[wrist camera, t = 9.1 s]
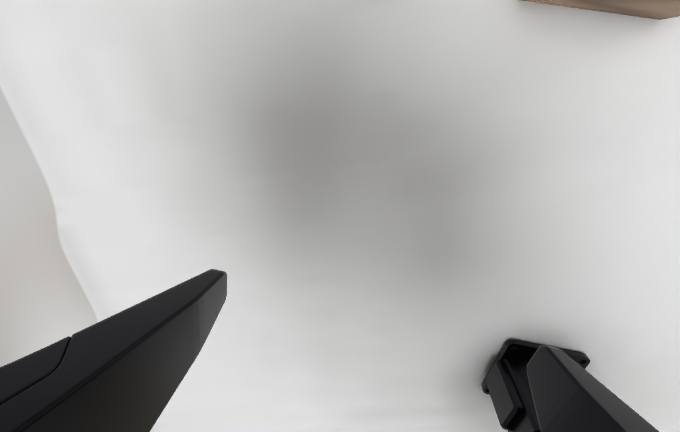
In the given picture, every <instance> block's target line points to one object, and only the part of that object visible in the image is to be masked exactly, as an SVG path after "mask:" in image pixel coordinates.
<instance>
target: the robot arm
mask: <svg viewBox="0 0 680 432" xmlns="http://www.w3.org/2000/svg"><path fill="white" fill-rule="evenodd" d="M226 296H227V274H226V272H224V271H220V270H216V269H211V270H208V271H206V272H204V273H202V274H200V275H198V276H196V277H193V278H191V279H189V280H187V281H185V282H183V283H181V284H179V285H177V286H174V287H172V288H170V289H168V290H166V291H164V292H162V293H160V294H157V295H155V296H153V297H151V298H149V299H147V300H145V301H143V302H141V303H138V304H136V305H134V306H132V307H130V308H128V309H126V310H124V311H122V312H119V313H117V314H115V315H113V316H111V317H109V318H107V319H105V320H102V321H100V322H98V323H96V324H94V325H92V326H90V327H88V328H86V329H83V330H81V331H79V332H77V333H75V334H73V335H72V337H66V338H64V339H62V340H60V341H58V342H56V343H54V344H51V345H50V346H47V347H45V348H43V349H41V350H38V351H36V352H34V353H32V354H29V355H27V356H25V357H23V358H21V359H18V360H16V361H14V362H12V363H10V364H7V365H5V366H2V367H0V432H150V430H151V429H152V427H153V426H154V424H155V422H156V421H157V419H158V418H159V416H160V414H161V413H162V411H163V410H164V408H165V407H166V405H167V403H168V402H169V400H170V399H171V397H172V395H173V394H174V392H175V391H176V389H177V387H178V386H179V384H180V383H181V381H182V380H183V378H184V376H185V375H186V373H187V372H188V370H189V368H190V367H191V365H192V364H193V362H194V361H195V359H196V357H197V356H198V354H199V352H200V351H201V349H202V347H203V345H204V343H205V341H206V339H207V337H208V335H209V333H210V331H211V329H212V327H213V325H214V323H215V321H216V318H217V316H218V314H219V312H220V310H221V308H222V306H223V304H224V302H225V300H226ZM589 363H590V359H589V358H588V357H587V355H586V354H583V353H579V352H573V351H568V350H563V349H559V348H556V347H551V346H547V345H538V344H533V343H528V342H522V341H517V340H509V341H507V342H506V343H505V345H504V347H503V349H502V351H501V352H500V354H499V356H498V358H497V359H496V361H495V362H494V364H493V366H492V368H491V369H490V371H489V373H488V375H487V376H486V378H485V381H484V382H483V384H482V389H483V392H484V393H486V394H490V395H491V398H492V401H493V404H494V407H495V410H496V413H497V416H498V419H499V422H500V425H501V426H502V428H503V429H505V430H508V432H659V431H658V430H657V429H655V428H654V427H653V426H652V425H651V424H649V423H648V422H647V421H646V420H645V419H643V418H642V417H641V416H640V415H639V414H637V413H636V412H635V411H634V410H633V409H631V408H630V407H629V406H628V405H627V404H625V403H624V402H623V401H622V400H621V399H619V398H618V397H617V396H616V395H615V394H613V393H612V392H611V391H610V390H609V389H607V388H606V387H605V386H604V385H603V384H601V383H600V382H599V381H598V380H597V379H595V378H594V377H593V376H592V375H591V374H589V373H588V372H587V371H586V370H585V368H586V367H587V365H588V364H589Z"/></svg>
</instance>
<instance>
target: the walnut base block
mask: <svg viewBox="0 0 680 432" xmlns="http://www.w3.org/2000/svg"><path fill="white" fill-rule="evenodd" d="M523 1H530V2H537V3H544V4H551V5H559V6H566V7H573V8H580V9H587V10H594V11H602V12H609V13H616V14H623V15H630V16H637V17H644V18H652V19H659V20H661V19H666V18H672V17H678V16H680V0H523Z"/></svg>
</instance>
